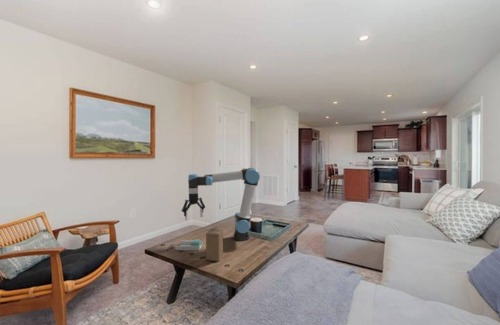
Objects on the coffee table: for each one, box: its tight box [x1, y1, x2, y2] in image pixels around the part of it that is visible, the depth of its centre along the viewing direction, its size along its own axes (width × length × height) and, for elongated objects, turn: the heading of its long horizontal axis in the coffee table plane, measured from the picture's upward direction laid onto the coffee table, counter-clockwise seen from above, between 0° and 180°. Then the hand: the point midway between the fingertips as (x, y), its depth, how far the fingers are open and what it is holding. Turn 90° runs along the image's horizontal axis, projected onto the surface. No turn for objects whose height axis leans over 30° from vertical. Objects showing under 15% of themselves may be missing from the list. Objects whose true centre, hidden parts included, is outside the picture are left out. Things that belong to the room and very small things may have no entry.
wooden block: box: [205, 228, 224, 262], centre depth 166 cm, size 10×10×20 cm
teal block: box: [191, 238, 202, 247], centre depth 185 cm, size 6×6×5 cm
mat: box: [166, 244, 174, 252], centre depth 185 cm, size 8×11×1 cm
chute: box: [175, 240, 204, 251], centre depth 185 cm, size 18×12×4 cm, turn 90°
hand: (194, 218), depth 189 cm, fingers open, 13 cm apart
